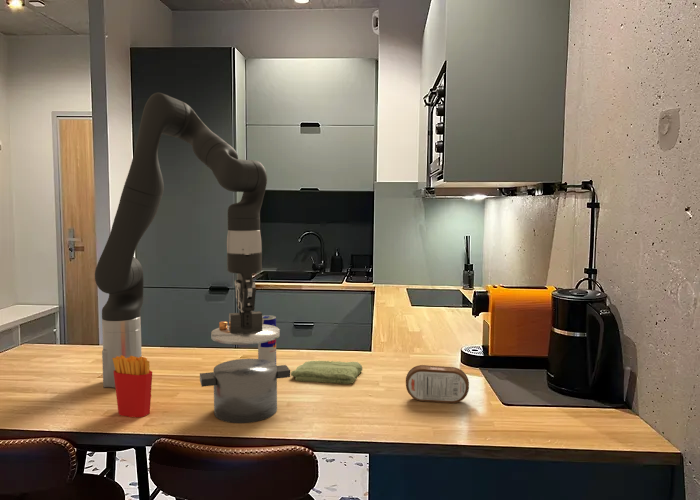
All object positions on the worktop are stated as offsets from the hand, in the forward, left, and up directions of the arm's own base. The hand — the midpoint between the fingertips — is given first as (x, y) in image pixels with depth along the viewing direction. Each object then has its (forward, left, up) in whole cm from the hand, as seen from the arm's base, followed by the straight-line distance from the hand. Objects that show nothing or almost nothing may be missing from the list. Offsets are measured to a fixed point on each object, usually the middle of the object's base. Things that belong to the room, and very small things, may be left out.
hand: (245, 327), depth 121 cm
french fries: (-24, +7, -19) cm, 32 cm away
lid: (0, 0, -2) cm, 2 cm away
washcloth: (+25, +18, -20) cm, 37 cm away
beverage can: (+11, +30, -19) cm, 37 cm away
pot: (0, 0, -19) cm, 19 cm away
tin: (+44, -9, -19) cm, 49 cm away
